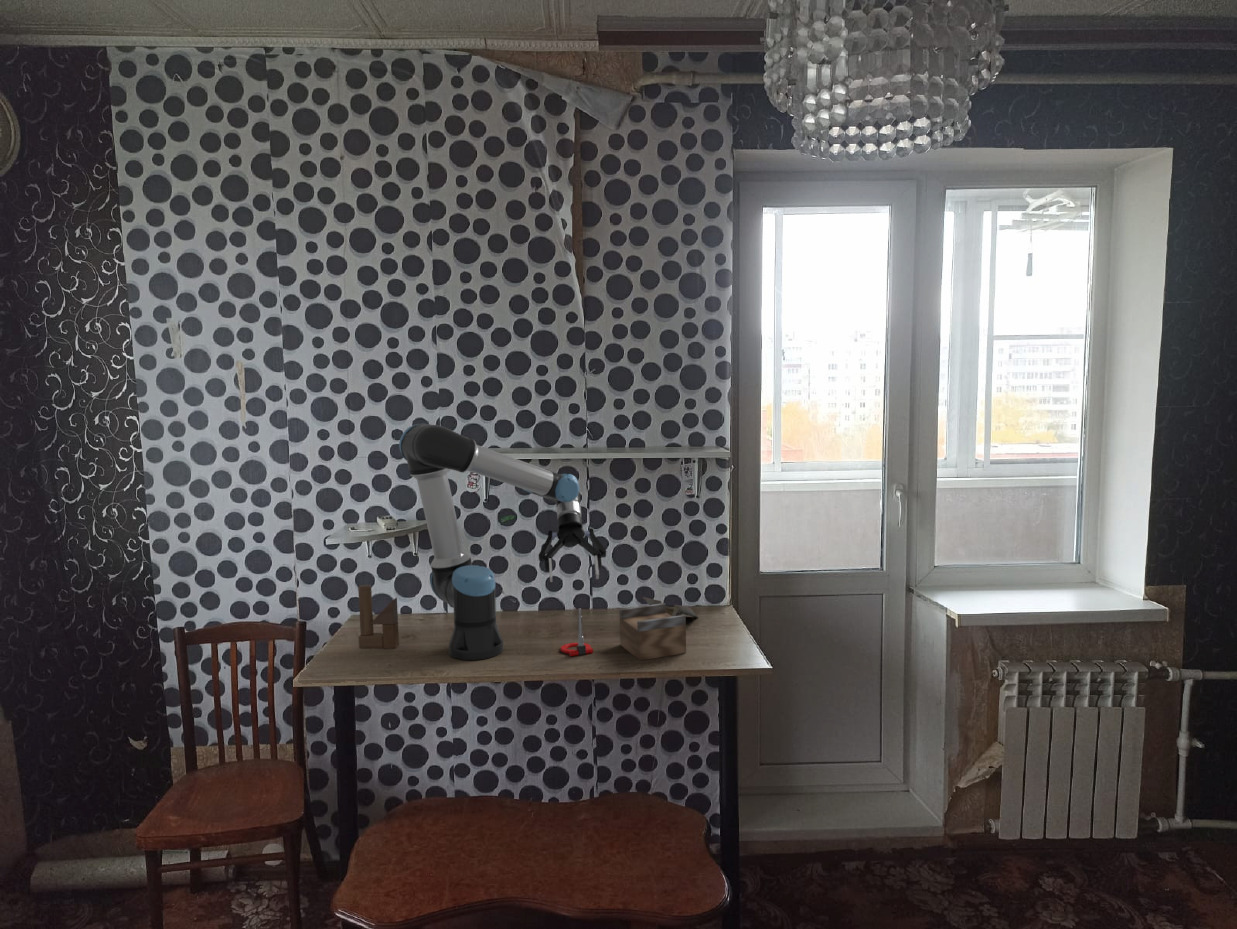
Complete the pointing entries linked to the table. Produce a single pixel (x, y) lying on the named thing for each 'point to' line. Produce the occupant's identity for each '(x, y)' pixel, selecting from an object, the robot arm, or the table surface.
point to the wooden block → (377, 622)
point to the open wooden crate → (652, 632)
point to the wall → (675, 610)
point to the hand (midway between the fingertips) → (574, 578)
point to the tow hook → (581, 646)
